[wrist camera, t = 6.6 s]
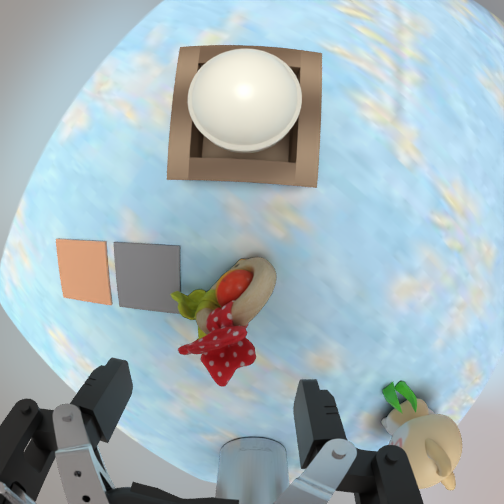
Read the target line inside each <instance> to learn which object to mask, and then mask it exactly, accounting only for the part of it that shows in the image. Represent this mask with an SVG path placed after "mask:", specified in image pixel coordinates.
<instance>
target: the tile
mask: <svg viewBox="0 0 504 504" xmlns="http://www.w3.org/2000/svg"><path fill="white" fill-rule="evenodd" d="M56 247H57V256H58V265H59V272H60V279H61V285H62V291H63V297H65V298H70V299H76V300H81V301H87V302H93V303H100V304H106V305H112V298H111V290H110V281H109V271H108V259H107V244H106V241H90V240H72V239H56Z"/></svg>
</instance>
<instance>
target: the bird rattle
mask: <svg viewBox="0 0 504 504" xmlns="http://www.w3.org/2000/svg"><path fill="white" fill-rule="evenodd" d="M275 284H276V271H275V269H274V267H273V266H272V265H271V264H270V262H269V261H267V260H266V259H264V258H260V257H254V258H250V259H247V260H246V259H240V260H239V261H238V262H237V263H236V264H235V265H234V266H233V267H232V268H231V269H230V270H229V271H227V272H226V273H225V274H223V275H222V276H221V278H220V279H219V280H218V281H217V282H216V283H215V284H214V285H213V286H212V287H211V289H210V290H209V291H207V292H206V291H204V290H201V289H199V290H195V291H193V292H192V293H191V294H189V295H188V296H187V295H185V294H183V293H181V292H179V291H175V292H173V293H171V294H170V295H171V297H172V298H173V299H174V300H175V301H177V302H178V310H179V312H180V314H181V315H182V316H183V317H185V318H187V319H190V320H196V322H197V325H198V337H199V338H198V339H197V340H196V341H194V342H192V343H190V344H187V345H184V346H181V347H180V348H178V351H179V353H180V354H183V355H188V354H191V353H193V354H202V355H201V358H200V360H201V362H202V363H203V364H204V365H205V367H206V368H207V370H208V371H209V373H210V375H211V376H212V378H213V379H214V381H215V382H216V383H217V384H218V385H219V386H226V384H227V383H228V382H229V380H230V378H231V377H232V376H233V374H234V372H235V370H236V369H238V368H239V367H243V366H248V365H251V364H252V363H253V362H254V361H255V359H256V354H255V348H254V346H253V344H252V343H251V342H250V341H249V340H248V339H247V338H246V337H245V336H246V335H247V331H246V328H247V326H248V323H249V322H250V321H251V320H252V319H253V318H254V317H255V316H256V315H257V314H258V313H259V311H260V310H261V309H262V308H263V306H264V305H265V304H266V302H267V301H268V299H269V298H270V296H271V294H272V292H273V290H274V287H275Z"/></svg>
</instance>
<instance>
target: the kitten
mask: <svg viewBox="0 0 504 504" xmlns="http://www.w3.org/2000/svg"><path fill="white" fill-rule="evenodd" d="M395 390H396V391H398V392H399V393H400V394H402V395H403V396H404V397H405V398H406V399H407V401H405V402H403V403H401V404H399V401H398V398H397V395H396V392H395ZM383 394H384V397H385V399H386V401H387V402H388V403H389V404H390V405H392V406H393V407H394V409H393V410H392V411H391V412H390V413H389V415H388V416H387V418H383V419H382V421H381V422H382V425H383V426H384V427H385V429H386V430H387V432H388V433H389V434H390V435H392V438H391V440H390V443H389V445H396V446H399V447H401V448H402V449H403V450H404V451H405V452H406V454H407V456H408V459H409V462H410V465H411V467H412V470H413V473H414V476H415V479H416V482H417V485H418V488H419V489H423V488H428V487H431V486H433V485H435V484H437V483H439V482H441V483H442V484H443V485H444V486H445V487H446V489H447V490H454V489H455V485H456V483H455V476H454V473H453V470H454V468H455V467H456V465H457V464H458V462H459V460H460V457H461V453H462V438H461V434H460V431H459V429H458V427H457V425H456V424H455V422H454V421H453V420H452V419H451V418H449V417H447V416H445V415H442V414H435V413H434V412H433V411H432V410H431V409H429V408H428V406H427V404H426V403H425V401H423V400H422V399H417V398H416V396H415V394H414V393H413V392H412V390H411V389H410V388H409V387H408V386H407V385H406V383H405V382H403V381H400V382H399V383H398V384H397V385H396V386H395V388H394V383H393V382H392V383H391V384H390V385H389V386H387V387H386V388H385V389H383Z"/></svg>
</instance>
